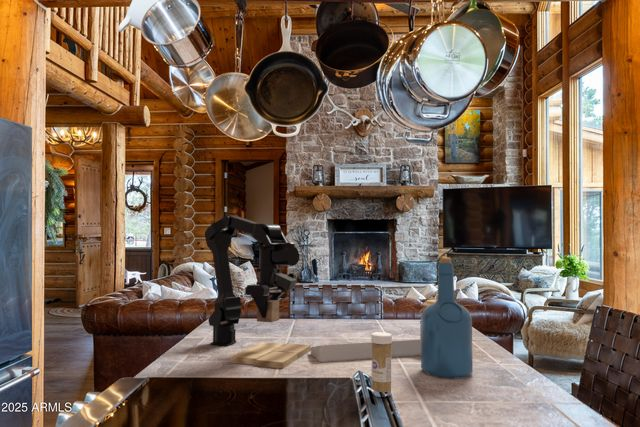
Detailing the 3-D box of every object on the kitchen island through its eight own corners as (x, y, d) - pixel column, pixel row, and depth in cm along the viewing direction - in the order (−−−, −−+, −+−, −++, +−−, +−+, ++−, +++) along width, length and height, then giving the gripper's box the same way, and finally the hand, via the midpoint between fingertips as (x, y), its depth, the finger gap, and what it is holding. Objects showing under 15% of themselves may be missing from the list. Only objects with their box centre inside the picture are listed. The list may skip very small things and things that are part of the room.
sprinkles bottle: (367, 395, 101) (367, 333, 102) (378, 390, 105) (378, 330, 105) (384, 400, 98) (384, 336, 99) (395, 394, 102) (395, 333, 102)
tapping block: (256, 321, 137) (257, 301, 138) (264, 318, 142) (264, 299, 142) (271, 322, 135) (272, 302, 136) (279, 319, 140) (279, 300, 141)
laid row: (255, 365, 125) (256, 359, 125) (286, 348, 145) (286, 343, 146) (283, 368, 122) (283, 362, 122) (310, 350, 143) (310, 345, 143)
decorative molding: (311, 364, 137) (320, 363, 128) (310, 347, 139) (319, 345, 130) (413, 357, 147) (428, 355, 138) (411, 341, 149) (426, 339, 140)
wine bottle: (416, 365, 126) (416, 256, 128) (465, 366, 126) (463, 257, 128) (426, 380, 113) (425, 258, 115) (480, 381, 112) (479, 258, 114)
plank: (230, 362, 128) (230, 356, 128) (261, 347, 147) (261, 342, 147) (256, 364, 126) (256, 358, 126) (284, 348, 145) (284, 343, 145)
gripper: (279, 266, 128) (278, 323, 127) (304, 264, 146) (304, 313, 145) (244, 265, 132) (243, 320, 131) (273, 263, 150) (272, 311, 149)
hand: (268, 316), depth 139 cm, fingers closed on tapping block, 5 cm apart
